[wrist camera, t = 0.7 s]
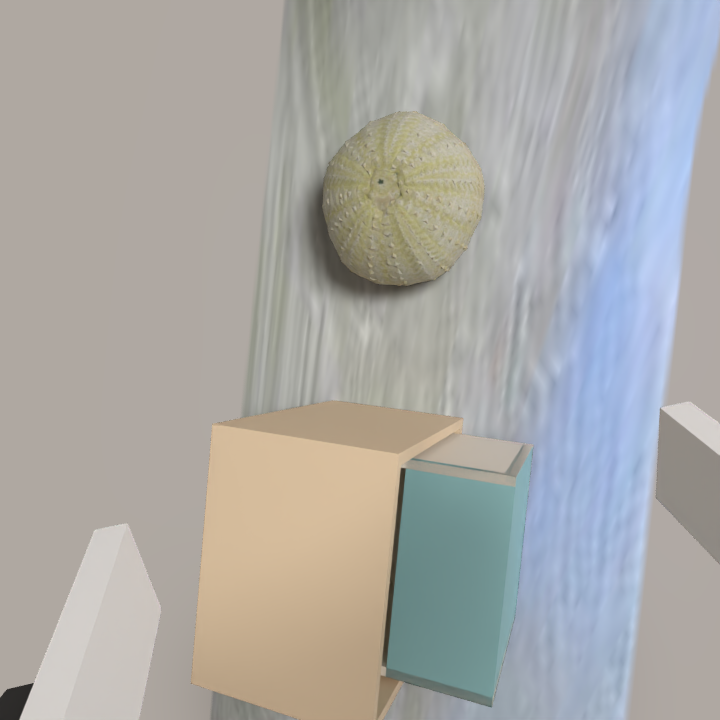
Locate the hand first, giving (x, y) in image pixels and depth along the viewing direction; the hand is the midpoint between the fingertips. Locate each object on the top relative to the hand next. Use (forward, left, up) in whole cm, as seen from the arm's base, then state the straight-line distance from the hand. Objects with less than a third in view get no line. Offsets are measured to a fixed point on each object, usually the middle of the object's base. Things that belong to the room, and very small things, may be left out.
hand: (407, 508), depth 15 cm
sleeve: (+8, +1, -20) cm, 22 cm away
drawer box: (+6, +3, -19) cm, 21 cm away
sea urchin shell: (-2, -13, -21) cm, 25 cm away
